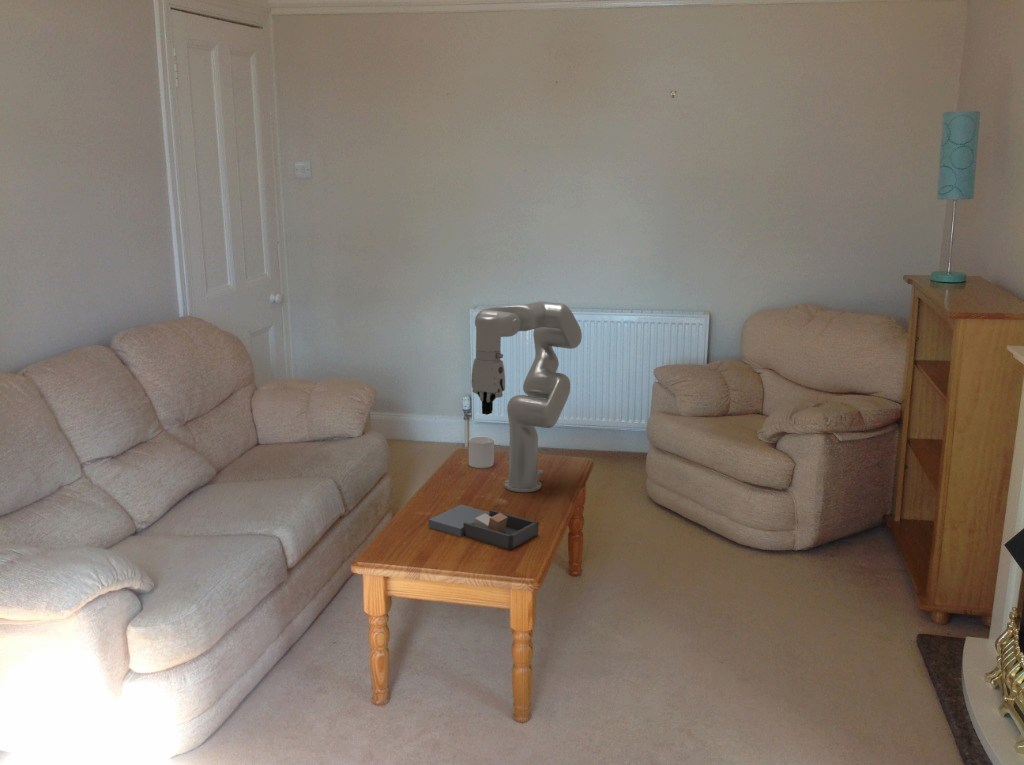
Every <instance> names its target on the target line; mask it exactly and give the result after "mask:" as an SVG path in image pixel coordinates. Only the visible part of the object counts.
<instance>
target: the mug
mask: <svg viewBox="0 0 1024 765" xmlns="http://www.w3.org/2000/svg"><path fill="white" fill-rule="evenodd" d="M494 457H495V439H494V438H493V437H491V436H486V435H485V436H484V435H483V436H481V435H480V436H471V437H469V439H468V465H469V466H470V467H471V468H474V469H475V468H476V469H488V468H492V467H493V466H494V464H495V460H494V459H495V458H494Z"/></svg>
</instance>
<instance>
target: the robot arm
mask: <svg viewBox="0 0 1024 765" xmlns="http://www.w3.org/2000/svg"><path fill="white" fill-rule="evenodd" d="M474 326H475V358H474V359H473V362H472V363H473V364H472V370H471V383H470V384H471V388H472V393H473V394H476V395H478V397H479V399H480V400H479V401H481V413H482V415H490V414H492V413H493V406H494V404H493V403H494V401H495V400H496V399H498V398H503V396H504V394H503V392H504V391H506V372H505V365H504V361H503V360H502V359H503V358H504V354H503V353H501V349H502V348H501V346H502V345H501V343H502V341H501V340H502V338H506V337H507V338H509V337H513V336H515V335H517V334H518V332H528V331H531V330H533V332H532V334H533V337H532V338H533V342H534V343H533V344H534V350H535V351H534V352H535V355H534V360H533V361H532V364H531V366H530V368H529V370H528V372H527V374H526V377H525V378H524V381H523V384H522V385H523V386H522V387H523V388H522V390H523V392H524V394H526V395H524V394H520V395H519V394H517V395H514V396H513V397H511V398H510V399H509V401H508V403H507V409H506V410H507V412H506V413H507V418H508V425H509V448H508V449H509V450H508V451H509V453H508V454H509V455H508V479H506V480H504V483H503V487H504V488H505V490H508V491H510V492H515V493H533V492H536V491H540V490H541V488H542V483H541V481H540V480H538V478H539V477H540V476H543V474H544V471H543V469H538V450H539V449H538V448H539V435H538V432H537V428H544V429H551V428H553V427H554V426H555V425H556V424H557V422H558V421H559V419H560V417H561V414H562V412H563V410H564V408H565V405H566V404H567V401H568V399H569V396H570V393H571V381H570V378H569V377H568V375H566V374H564V373H560V372H557V371H558V368H559V365H560V364H559V359H558V356H557V354H556V352H555V351H554V348H562V349H569V350H571V349H576V348H577V347H579V345H580V344H581V342H582V339H583V338H582V337H583V332H582V329H581V326H580V324H579V323H578V321H577V319H576V317H575V315H574V313H573V311H572V310H571V308H569V307H568V306H567V305H566V304H564V303H560V302H551V301H549V302H548V301H534V302H530V303H524V304H518V305H516V304H515V305H509V306H508V305H507V306H493V307H488V308H484V309H481V310H479V312H478V313H477V314H476V315H475V319H474ZM536 427H537V428H536Z"/></svg>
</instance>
